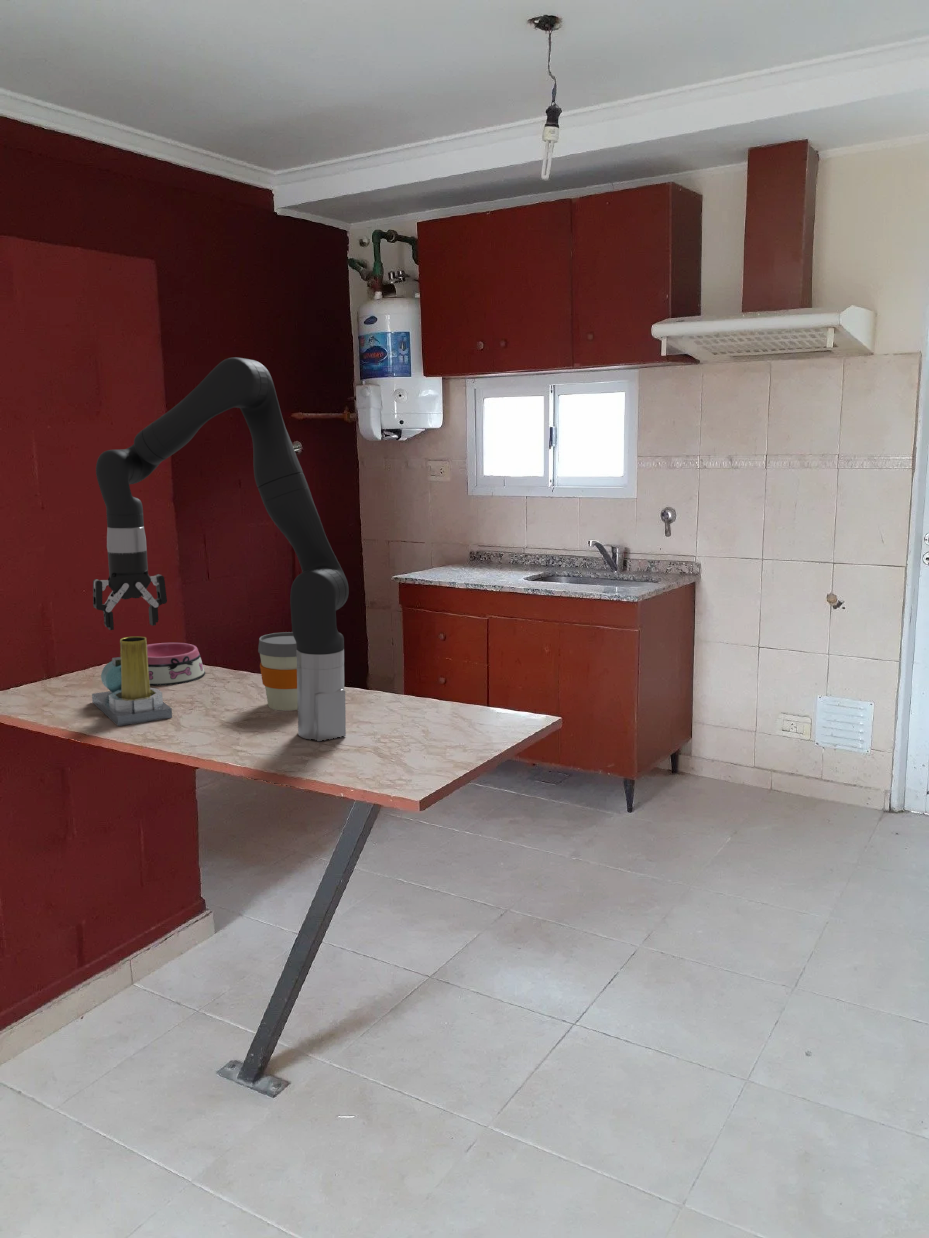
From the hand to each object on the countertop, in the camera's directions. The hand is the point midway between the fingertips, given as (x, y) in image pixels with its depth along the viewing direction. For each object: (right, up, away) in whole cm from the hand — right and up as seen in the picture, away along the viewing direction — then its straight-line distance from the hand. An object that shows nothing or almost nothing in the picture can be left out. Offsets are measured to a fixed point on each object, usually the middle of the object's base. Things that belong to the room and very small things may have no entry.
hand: (132, 627), depth 198 cm
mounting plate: (-3, -18, +7) cm, 19 cm away
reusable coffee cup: (+30, -17, +13) cm, 37 cm away
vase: (0, -17, +3) cm, 17 cm away
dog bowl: (-4, -13, +35) cm, 38 cm away
